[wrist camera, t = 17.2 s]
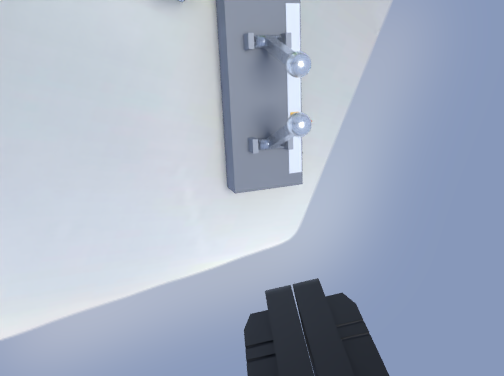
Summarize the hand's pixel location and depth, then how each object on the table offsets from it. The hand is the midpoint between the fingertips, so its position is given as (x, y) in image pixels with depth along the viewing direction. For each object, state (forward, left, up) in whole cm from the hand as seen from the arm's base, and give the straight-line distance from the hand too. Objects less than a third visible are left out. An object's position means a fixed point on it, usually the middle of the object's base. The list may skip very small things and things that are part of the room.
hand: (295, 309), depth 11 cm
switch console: (+18, +4, -50) cm, 53 cm away
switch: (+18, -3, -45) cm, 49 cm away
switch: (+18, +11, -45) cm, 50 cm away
